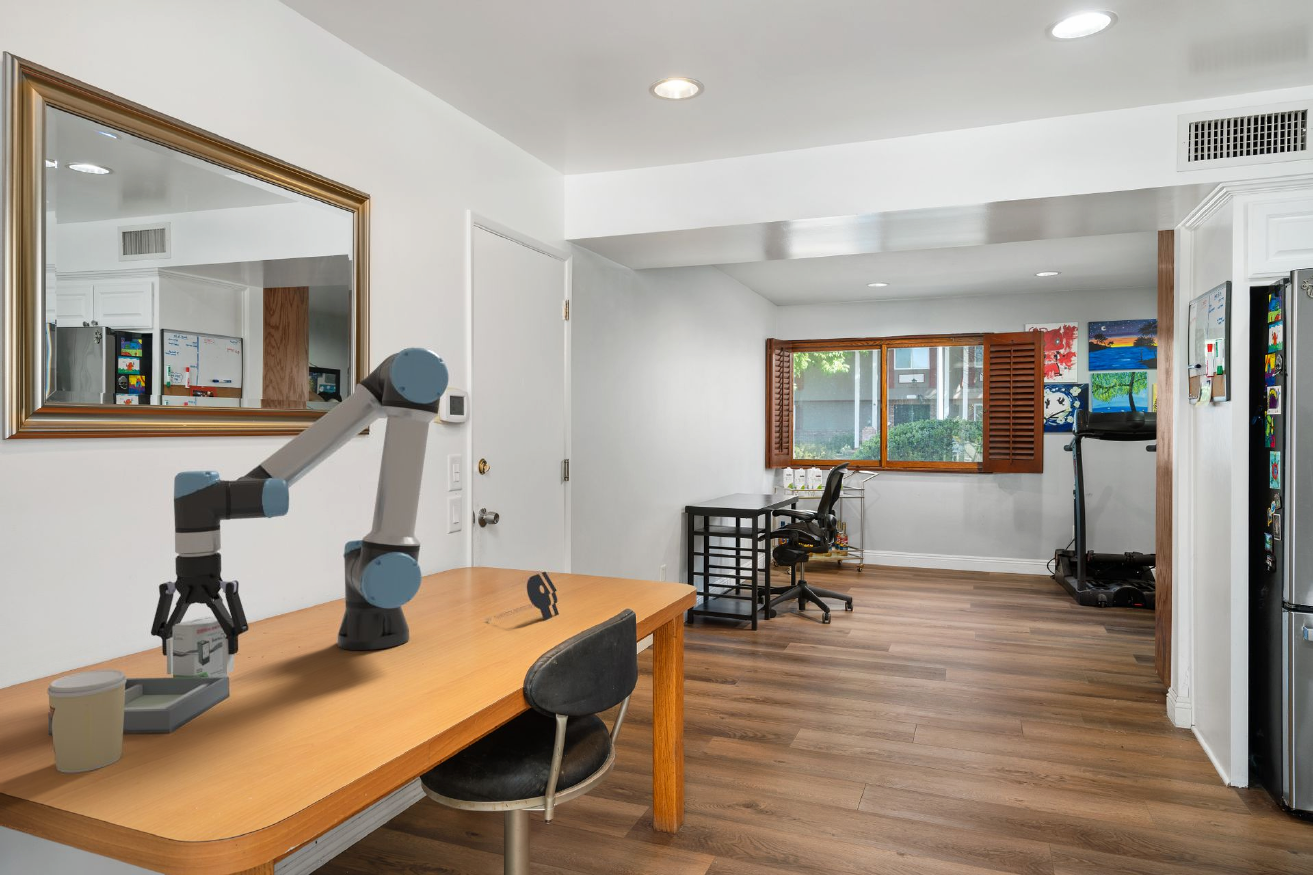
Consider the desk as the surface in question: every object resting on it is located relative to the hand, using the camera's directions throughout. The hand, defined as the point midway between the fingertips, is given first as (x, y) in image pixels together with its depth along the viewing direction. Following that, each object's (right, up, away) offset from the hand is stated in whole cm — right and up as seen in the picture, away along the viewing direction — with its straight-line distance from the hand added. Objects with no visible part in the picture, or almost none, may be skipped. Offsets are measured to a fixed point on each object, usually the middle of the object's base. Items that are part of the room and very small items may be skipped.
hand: (201, 671), depth 156 cm
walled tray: (0, -2, -17) cm, 17 cm away
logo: (+55, -1, +49) cm, 74 cm away
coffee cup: (+4, -3, -37) cm, 37 cm away
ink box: (0, -2, 0) cm, 2 cm away
